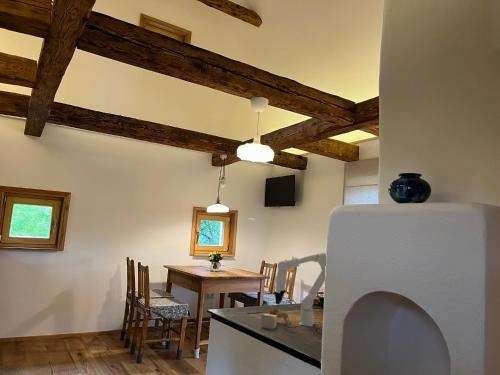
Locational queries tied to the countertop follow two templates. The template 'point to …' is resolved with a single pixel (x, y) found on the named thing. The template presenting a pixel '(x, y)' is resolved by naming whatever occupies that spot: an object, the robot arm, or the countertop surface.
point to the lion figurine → (278, 314)
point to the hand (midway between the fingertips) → (278, 302)
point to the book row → (268, 321)
